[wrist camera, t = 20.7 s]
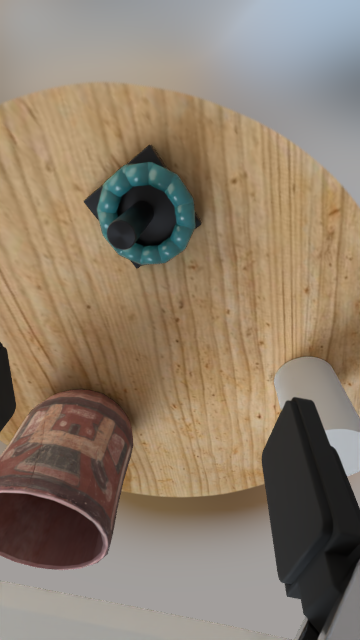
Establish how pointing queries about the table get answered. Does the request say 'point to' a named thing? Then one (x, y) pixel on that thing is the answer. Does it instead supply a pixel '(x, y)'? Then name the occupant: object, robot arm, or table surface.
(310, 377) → the grey cylinder
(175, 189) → the ring
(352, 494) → the robot arm
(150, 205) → the peg stand
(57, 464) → the pottery
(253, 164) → the table surface
